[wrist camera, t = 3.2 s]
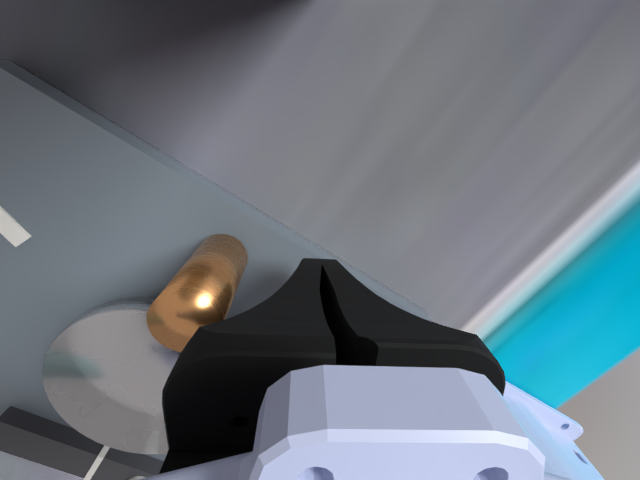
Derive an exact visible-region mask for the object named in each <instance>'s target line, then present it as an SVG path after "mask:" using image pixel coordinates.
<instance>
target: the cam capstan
mask: <svg viewBox="0 0 640 480" xmlns="http://www.w3.org/2000/svg"><path fill="white" fill-rule="evenodd" d="M247 263H248V253H247V250H246V248H245V246H244V245H243V244H242V243H241V242H240V241H239V240H238V239H237V238H235V237H233V236H230V235H227V234H215V235H212V236H209V237H208V238H206V239H205V240H204V241H203V242H202V243H201V245H200V246H199V247H198V248H197V249H196V251H195V252H194V253H193V254H192V256H191V257H190V258H189V259H188V260H187V262H186V263H185V264H184V265H183V267H182V268H181V269H180V270H179V271H178V273H177V274H176V275H175V276H174V278H173V279H172V280H171V281H170V282H169V284H168V285H167V286H166V287H165V288H164V290H163V291H162V292H161V293H160V295H159V296H158V297H157V298H156V299H155V298H144V297H134V298H123V299H116V300H112V301H109V302H105V303H103V304H100V305H98V306H95V307H94V308H92V309H90V310H89V311H87V312H85V313H84V314H83V315H82V316H81V317H79V318H78V319H77V320H76V321H75V322H74V323H72V324H71V325H70V326H69V327H68V328H67V329H66V330H65V331H63V332H62V333H61V334H60V335H59V336H58V337H57V338H56V339H55V340H54V342H53V343H52V344H51V346H50V347H49V349H48V351H47V352H46V355H45V358H44V361H43V367H42V381H43V385H44V389H45V392H46V394H47V397H48V399H49V401H50V403H51V404H52V406H53V408H54V409H55V410H56V411H57V413H58V414H59V415H60V416H61V417H62V418H63V419H64V420H65V421H66V422H67V423H68V424H69V425H70V426H71V427H73V428H74V429H75V430H77V431H78V432H80V433H81V434H83V435H84V436H86V437H88V438H90V439H92V440H94V441H95V442H98V443H100V444H103V445H105V446H107V447H111V448H114V449H117V450H121V451H126V452H131V453H138V454H167V453H168V450H169V448H168V442H167V435H166V428H165V422H164V415H163V408H162V390H163V388H164V386H165V383H166V381H167V378H168V376H169V374H170V372H171V371H172V369H173V367H174V365H175V363H176V361H177V359H178V357H179V355H180V354H181V352H182V350H183V349H184V347H185V346H186V344H187V343H188V341H189V340H190V339H191V338H192V336H193V335H194V333H195V332H196V331H197V329H198V328H199V327H200V326H205V325H208V324H212V323H215V322H218V321H222V320H225V319H226V316H227V314H228V311H229V309H230V306H231V304H232V301H233V299H234V296H235V294H236V291H237V289H238V286H239V283H240V281H241V278H242V276H243V273H244V271H245V268H246V266H247Z"/></svg>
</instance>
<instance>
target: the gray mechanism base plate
mask: <svg viewBox="0 0 640 480" xmlns="http://www.w3.org/2000/svg"><path fill="white" fill-rule="evenodd" d="M215 234H227V235H230V236H233V237H235V238H237V239H238V240H239V241H240V242H241V243H242V244H243V245H244V246H245V248H246V250H247V253H248V263H247V266H246V268H245V271H244V273H243V276H242V278H241V281H240V283H239V286H238V289H237V291H236V294H235V296H234V299H233V301H232V304H231V306H230V309H229V311H228V314H227V316H226V319H228V318H231V317H233V316H236V315H238V314H240V313H243V312H245V311H247V310H249V309H251V308H253V307H255V306H256V305H258V304H260V303H261V302H263V301H265V300H266V299H268V298H269V297H270V296H272V295H273V294H274V293H275V292H276V291H278V290H279V289H280V288H281V287H282V286H283V285H284V283H285V282H286V281H287V280H288V279H289V278H290V277H291V275H292V274H293V273H294V272H295V270H296V269H297V267H298V266H299V264H300V261H301V260H302V259H303V258H316V259H336V260H337V261H339V262H340V263H341V264H342V265H343V266H344V267H345V268H346V269H347V270H348V271H349V272H350V273H351V274H352V275H353V276H354V277H355V278H356V279H357V280H358V281H360V282H361V283H362V284H363V285H364V286H366V287H367V288H368V289H370V290H371V291H372V292H374V293H375V294H377V295H378V296H380V297H381V298H383V299H384V300H386V301H388V302H389V303H391V304H393V305H395V306H397V307H398V308H401V309H403V310H405V311H407V312H409V313H411V314H413V315H416V316H418V317H420V318H423V319H425V320H428V321H431V322H432V320H431V319H430V317H429V316H428V314H427V312H426V311H425V310H423V309H421V308H420V307H418V306H416V305H415V304H413V303H411V302H410V301H408V300H406V299H405V298H403V297H401V296H400V295H398V294H396V293H395V292H393V291H391V290H390V289H388V288H386V287H385V286H383V285H381V284H380V283H378V282H376V281H375V280H373V279H371V278H370V277H368V276H366V275H365V274H363V273H362V272H360V271H358V270H357V269H355V268H353V267H352V266H350V265H348V264H347V263H345V262H343V261H342V260H340V259H338V258H337V257H335V256H333V255H332V254H330V253H328V252H327V251H325V250H323V249H322V248H320V247H318V246H317V245H315V244H313V243H312V242H310V241H308V240H307V239H305V238H303V237H302V236H300V235H298V234H297V233H295V232H293V231H292V230H290V229H289V228H287V227H285V226H284V225H282V224H280V223H279V222H277V221H275V220H274V219H272V218H270V217H269V216H267V215H265V214H264V213H262V212H260V211H259V210H257V209H255V208H254V207H252V206H250V205H249V204H247V203H245V202H244V201H242V200H240V199H239V198H237V197H235V196H234V195H232V194H230V193H229V192H227V191H225V190H224V189H222V188H220V187H219V186H217V185H215V184H214V183H212V182H211V181H209V180H207V179H206V178H204V177H202V176H201V175H199V174H197V173H196V172H194V171H192V170H191V169H189V168H187V167H186V166H184V165H182V164H181V163H179V162H177V161H176V160H174V159H172V158H171V157H169V156H167V155H166V154H164V153H162V152H161V151H159V150H157V149H156V148H154V147H152V146H151V145H149V144H147V143H146V142H144V141H142V140H141V139H139V138H138V137H136V136H134V135H133V134H131V133H129V132H128V131H126V130H124V129H123V128H121V127H119V126H118V125H116V124H114V123H113V122H111V121H109V120H108V119H106V118H104V117H103V116H101V115H99V114H98V113H96V112H94V111H93V110H91V109H89V108H88V107H86V106H84V105H83V104H81V103H79V102H78V101H76V100H74V99H73V98H71V97H69V96H68V95H66V94H65V93H63V92H61V91H60V90H58V89H56V88H55V87H53V86H51V85H50V84H48V83H46V82H45V81H43V80H41V79H40V78H38V77H36V76H35V75H33V74H31V73H30V72H28V71H26V70H25V69H23V68H21V67H20V66H18V65H16V64H15V63H13V62H11V61H9V60H4V59H0V451H3V452H6V453H9V454H12V455H15V456H18V457H21V458H24V459H27V460H30V461H33V462H36V463H40V464H43V465H46V466H49V467H52V468H55V469H58V470H61V471H64V472H67V473H70V474H73V475H76V476H79V477H82V478H84V479H83V480H137V479H141V478H145V477H150V476H154V475H158V474H159V472H160V470H161V467H162V465H163V462H164V460H165V457H166V455H167V454H138V453H131V452H126V451H121V450H117V449H114V448H111V447H107V446H105V445H103V444H100V443H98V442H95V441H94V440H92V439H90V438H88V437H86V436H84V435H83V434H81V433H80V432H78V431H77V430H75V429H74V428H73V427H71V426H70V425H69V424H68V423H67V422H66V421H65V420H64V419H63V418H62V417H61V416H60V415H59V414H58V413H57V411H56V410H55V409H54V408H53V406H52V404H51V403H50V401H49V399H48V397H47V394H46V392H45V389H44V385H43V381H42V367H43V361H44V358H45V355H46V352H47V351H48V349H49V347H50V346H51V344H52V343H53V342H54V340H55V339H56V338H57V337H58V336H59V335H60V334H61V333H62V332H63V331H65V330H66V329H67V328H68V327H69V326H70V325H71V324H72V323H74V322H75V321H76V320H77V319H78V318H79V317H81V316H82V315H83V314H84V313H85V312H87V311H89V310H90V309H92V308H94V307H95V306H98V305H100V304H103V303H105V302H109V301H112V300H116V299H123V298H134V297H144V298H155V299H156V298H157V297H158V296H159V295H160V293H161V292H162V291H163V290H164V288H165V287H166V286H167V285H168V284H169V282H170V281H171V280H172V279H173V278H174V276H175V275H176V274H177V273H178V271H179V270H180V269H181V268H182V267H183V265H184V264H185V263H186V262H187V260H188V259H189V258H190V257H191V256H192V254H193V253H194V252H195V251H196V249H197V248H198V247H199V246H200V245H201V243H202V242H203V241H204V240H205V239H206V238H208V237H209V236H212V235H215Z"/></svg>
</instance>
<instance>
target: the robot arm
mask: <svg viewBox="0 0 640 480" xmlns="http://www.w3.org/2000/svg"><path fill="white" fill-rule="evenodd" d="M162 408H163V415H164V422H165V428H166V435H167V442H168V448H169V450H168V453H167V455H166V457H165V460H164V462H163V465H162V467H161V470H160V472H159V474H158V475H154V476H150V477H145V478H141V479H137V480H604V479H603V477H602V476H601V475H600V474H599V473H598V471H597V470H596V469H595V468H594V466H593V465H592V464H591V463H590V462H589V460H588V459H587V458H586V457H585V455H584V454H583V453H582V452H581V451H580V449H579V448H578V447H577V446H576V445H575V443H574V442H573V441H574V440H575V439H576V438H578V437H579V436H580V435H581V434H582V433H583V428H582V427H581V426H580V425H579V423H578V422H576V421H574V420H572V419H571V418H569V417H567V416H566V415H564V414H562V413H560V412H559V411H557V410H555V409H553V408H552V407H550V406H548V405H547V404H545V403H543V402H541V401H540V400H538V399H536V398H534V397H533V396H531V395H529V394H528V393H526V392H524V391H522V390H521V389H519V388H517V387H516V386H514V385H512V384H510V383H509V382H507V381H505V375H504V371H503V369H502V368H501V366H500V364H499V362H498V361H497V360H496V358H495V357H494V356H493V354H492V353H491V352H490V351H489V349H488V348H487V347H486V346H485V344H484V343H483V342H482V341H481V339H480V338H479V337H478V336H477V335H475V334H472V333H468V332H464V331H460V330H457V329H453V328H449V327H446V326H442V325H439V324H437V323H434V322H431V321H428V320H425V319H423V318H420V317H418V316H416V315H413V314H411V313H409V312H407V311H405V310H403V309H401V308H398V307H397V306H395V305H393V304H391V303H389V302H388V301H386V300H384V299H383V298H381V297H380V296H378V295H377V294H375V293H374V292H372V291H371V290H370V289H368V288H367V287H366V286H364V285H363V284H362V283H361V282H360V281H358V280H357V279H356V278H355V277H354V276H353V275H352V274H351V273H350V272H349V271H348V270H347V269H346V268H345V267H344V266H343V265H342V264H341V263H340V262H339V261H337V260H336V259H316V258H303V259H302V260H301V261H300V264H299V266H298V267H297V269H296V270H295V272H294V273H293V274H292V275H291V277H290V278H289V279H288V280H287V281H286V282H285V283H284V285H283V286H282V287H281V288H280V289H279V290H278V291H276V292H275V293H274V294H273V295H272V296H270V297H269V298H268V299H266V300H265V301H263V302H261V303H260V304H258V305H256V306H255V307H253V308H251V309H249V310H247V311H245V312H243V313H240V314H238V315H236V316H233V317H231V318H228V319H225V320H222V321H218V322H215V323H212V324H208V325H205V326H200V327H199V328H198V329H197V331H196V332H195V333H194V335H193V336H192V338H191V339H190V340H189V341H188V343H187V344H186V346H185V347H184V349H183V350H182V352H181V354H180V355H179V357H178V359H177V361H176V363H175V365H174V367H173V369H172V371H171V372H170V374H169V376H168V378H167V381H166V383H165V386H164V388H163V390H162Z"/></svg>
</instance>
